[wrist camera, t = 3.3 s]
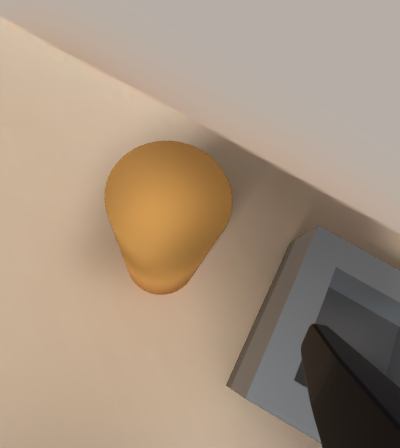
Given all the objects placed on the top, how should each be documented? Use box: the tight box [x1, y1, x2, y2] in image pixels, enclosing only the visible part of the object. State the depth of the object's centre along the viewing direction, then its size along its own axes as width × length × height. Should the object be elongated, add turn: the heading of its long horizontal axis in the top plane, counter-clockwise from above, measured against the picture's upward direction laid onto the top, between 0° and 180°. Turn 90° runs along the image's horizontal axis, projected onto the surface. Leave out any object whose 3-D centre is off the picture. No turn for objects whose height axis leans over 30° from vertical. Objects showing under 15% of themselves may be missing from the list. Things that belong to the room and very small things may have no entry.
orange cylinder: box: [105, 141, 232, 295], centre depth 15 cm, size 4×4×10 cm
